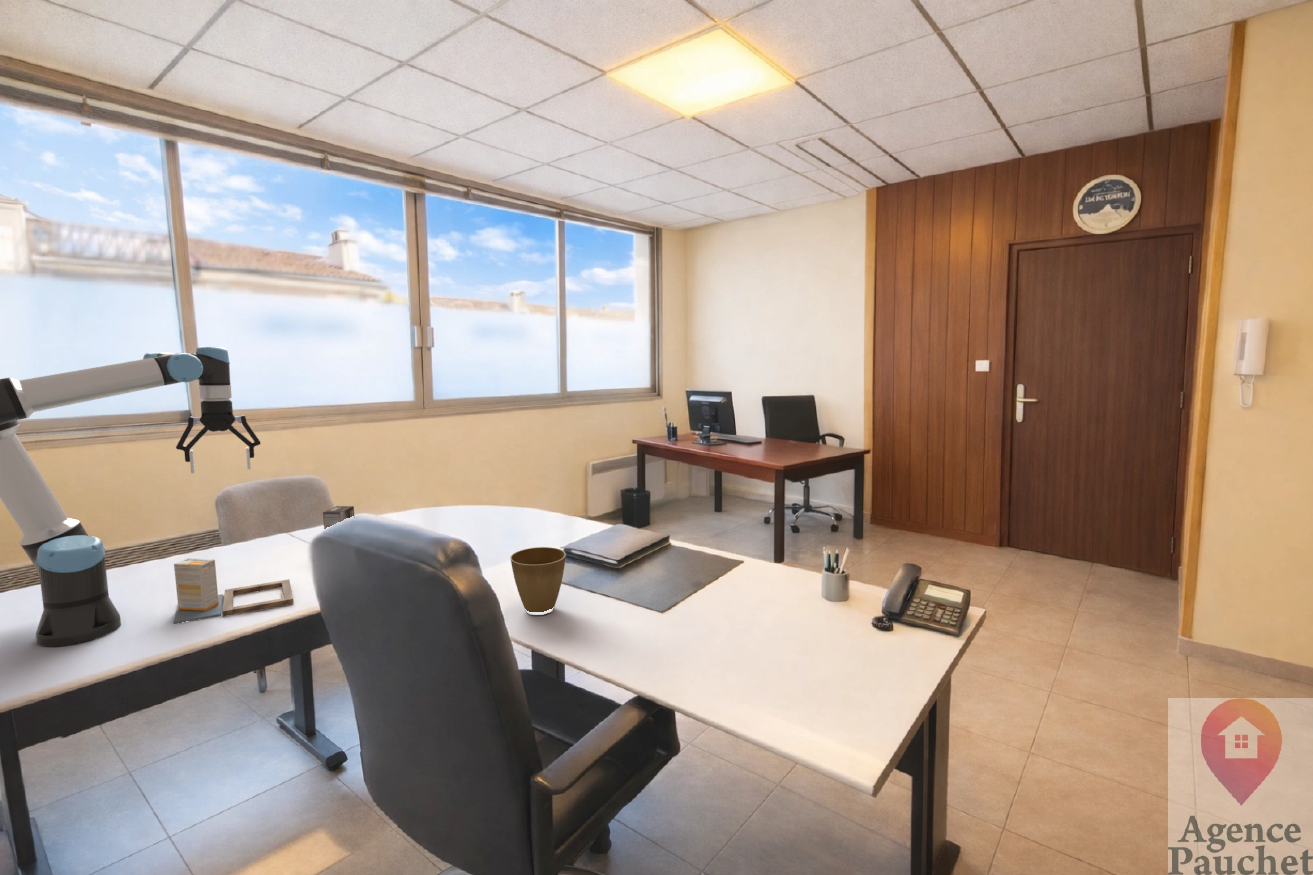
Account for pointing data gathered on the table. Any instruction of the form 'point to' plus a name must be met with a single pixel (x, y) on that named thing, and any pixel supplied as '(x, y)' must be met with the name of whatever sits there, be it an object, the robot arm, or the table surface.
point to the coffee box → (337, 515)
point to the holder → (287, 600)
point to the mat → (198, 613)
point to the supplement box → (196, 584)
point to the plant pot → (538, 576)
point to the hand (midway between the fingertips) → (221, 470)
